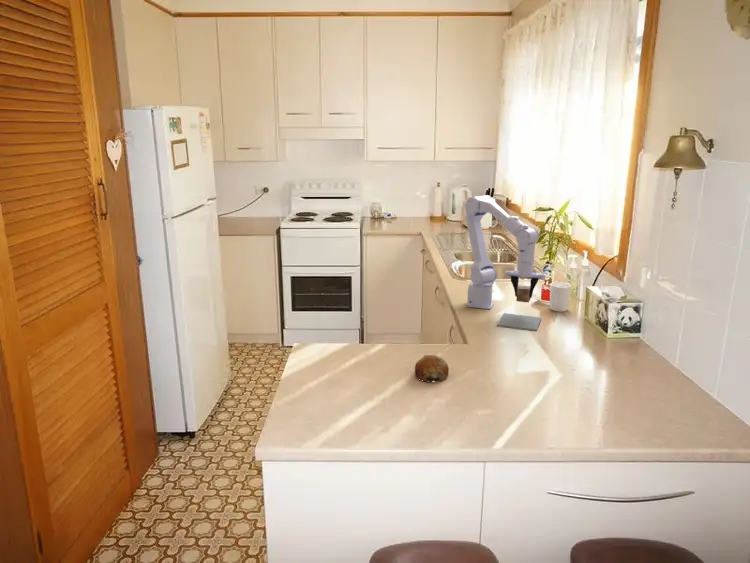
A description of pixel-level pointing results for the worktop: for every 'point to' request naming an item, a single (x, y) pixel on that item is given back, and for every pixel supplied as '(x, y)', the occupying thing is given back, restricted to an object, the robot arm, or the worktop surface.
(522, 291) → the walnut block
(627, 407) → the worktop surface
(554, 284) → the white cup
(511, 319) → the coaster mat
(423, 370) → the brown rounded dome
